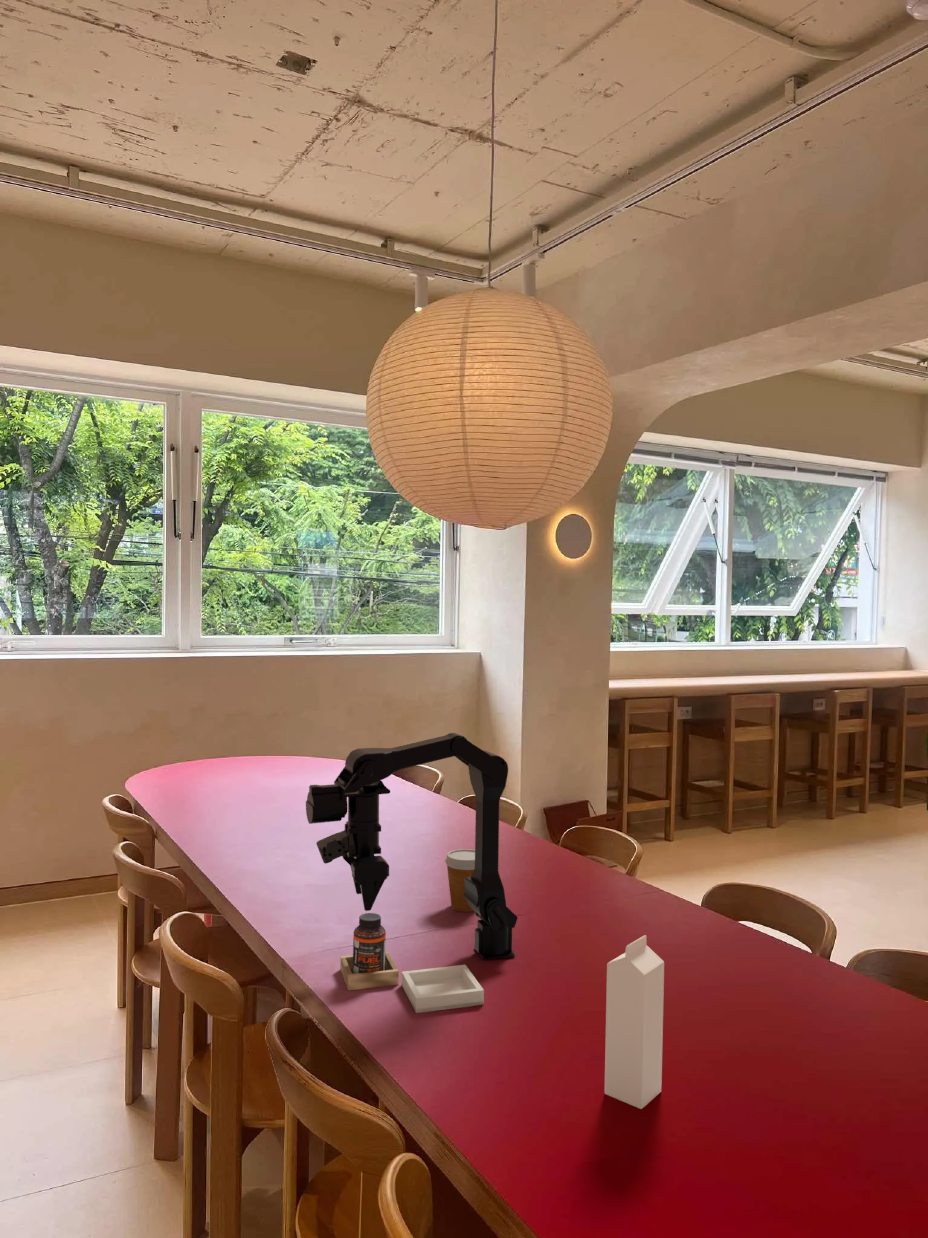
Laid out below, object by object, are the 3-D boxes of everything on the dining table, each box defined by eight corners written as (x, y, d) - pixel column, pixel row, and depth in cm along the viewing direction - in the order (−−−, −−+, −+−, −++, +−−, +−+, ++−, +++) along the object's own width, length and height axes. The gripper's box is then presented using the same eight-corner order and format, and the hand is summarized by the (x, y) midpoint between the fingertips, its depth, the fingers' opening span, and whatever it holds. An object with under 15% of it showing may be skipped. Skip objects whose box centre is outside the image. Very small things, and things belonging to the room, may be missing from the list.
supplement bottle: (355, 985, 160) (355, 923, 160) (350, 972, 166) (351, 912, 166) (387, 982, 162) (388, 920, 162) (381, 969, 168) (382, 909, 167)
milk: (661, 1092, 128) (666, 940, 127) (641, 1110, 123) (646, 952, 122) (624, 1077, 131) (628, 929, 131) (602, 1094, 127) (607, 940, 126)
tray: (465, 978, 164) (465, 964, 164) (483, 1004, 154) (484, 990, 154) (401, 985, 161) (401, 971, 161) (416, 1013, 150) (416, 998, 150)
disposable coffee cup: (482, 916, 196) (483, 862, 195) (440, 912, 198) (440, 859, 197) (489, 902, 205) (490, 850, 205) (449, 898, 207) (450, 847, 207)
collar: (387, 964, 170) (388, 951, 170) (398, 984, 161) (398, 971, 161) (340, 969, 167) (340, 956, 167) (348, 990, 158) (348, 976, 158)
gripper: (313, 809, 171) (313, 889, 172) (326, 835, 154) (326, 924, 154) (371, 805, 175) (370, 884, 175) (389, 830, 157) (389, 918, 157)
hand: (363, 902), depth 165 cm, fingers open, 9 cm apart
